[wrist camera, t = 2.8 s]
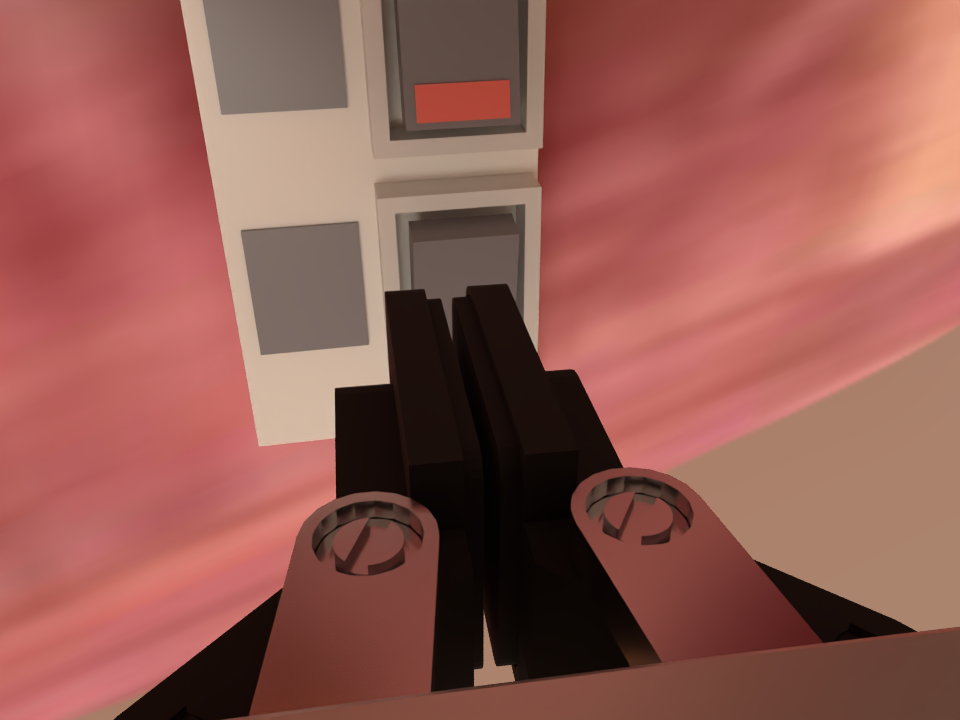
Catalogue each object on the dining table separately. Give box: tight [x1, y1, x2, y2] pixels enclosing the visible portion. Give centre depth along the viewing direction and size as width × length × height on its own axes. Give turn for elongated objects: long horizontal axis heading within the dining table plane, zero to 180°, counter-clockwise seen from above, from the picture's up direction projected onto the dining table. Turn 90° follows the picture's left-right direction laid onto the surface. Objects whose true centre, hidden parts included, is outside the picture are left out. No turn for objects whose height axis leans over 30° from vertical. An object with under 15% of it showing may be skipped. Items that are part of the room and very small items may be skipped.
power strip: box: [180, 0, 546, 446], centre depth 25 cm, size 28×10×4 cm, turn 1°
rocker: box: [408, 213, 519, 338], centre depth 28 cm, size 5×3×1 cm, turn 0°
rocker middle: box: [394, 0, 521, 131], centre depth 24 cm, size 5×3×1 cm, turn 1°
